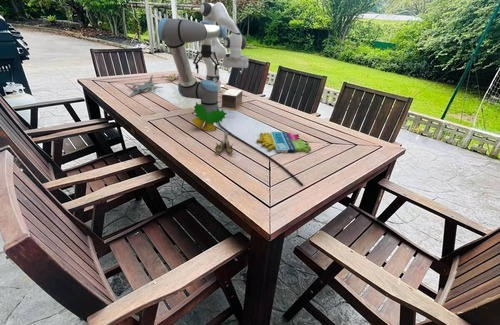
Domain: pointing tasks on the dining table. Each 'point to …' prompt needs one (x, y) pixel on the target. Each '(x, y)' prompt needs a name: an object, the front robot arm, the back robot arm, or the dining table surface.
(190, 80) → the front robot arm
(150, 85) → the airplane
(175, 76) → the toy
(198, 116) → the ornament
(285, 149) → the multicolored flat piece
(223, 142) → the jawbone
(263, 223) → the dining table surface
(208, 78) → the back robot arm
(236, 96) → the brown-grey rectangular block
